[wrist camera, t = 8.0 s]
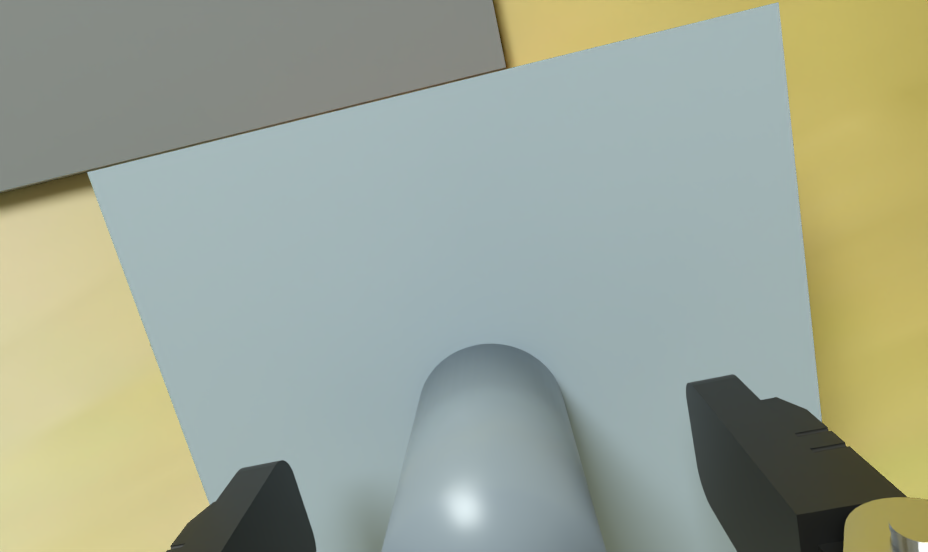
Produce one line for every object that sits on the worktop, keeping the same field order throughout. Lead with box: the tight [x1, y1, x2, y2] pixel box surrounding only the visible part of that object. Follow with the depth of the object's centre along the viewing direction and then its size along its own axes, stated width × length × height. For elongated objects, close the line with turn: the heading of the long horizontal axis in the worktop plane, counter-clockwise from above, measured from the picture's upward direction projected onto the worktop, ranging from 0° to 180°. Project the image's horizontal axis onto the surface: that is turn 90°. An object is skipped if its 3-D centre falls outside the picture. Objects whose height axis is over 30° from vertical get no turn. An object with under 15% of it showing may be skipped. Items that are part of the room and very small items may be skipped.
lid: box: [87, 3, 822, 552], centre depth 10 cm, size 13×13×6 cm
